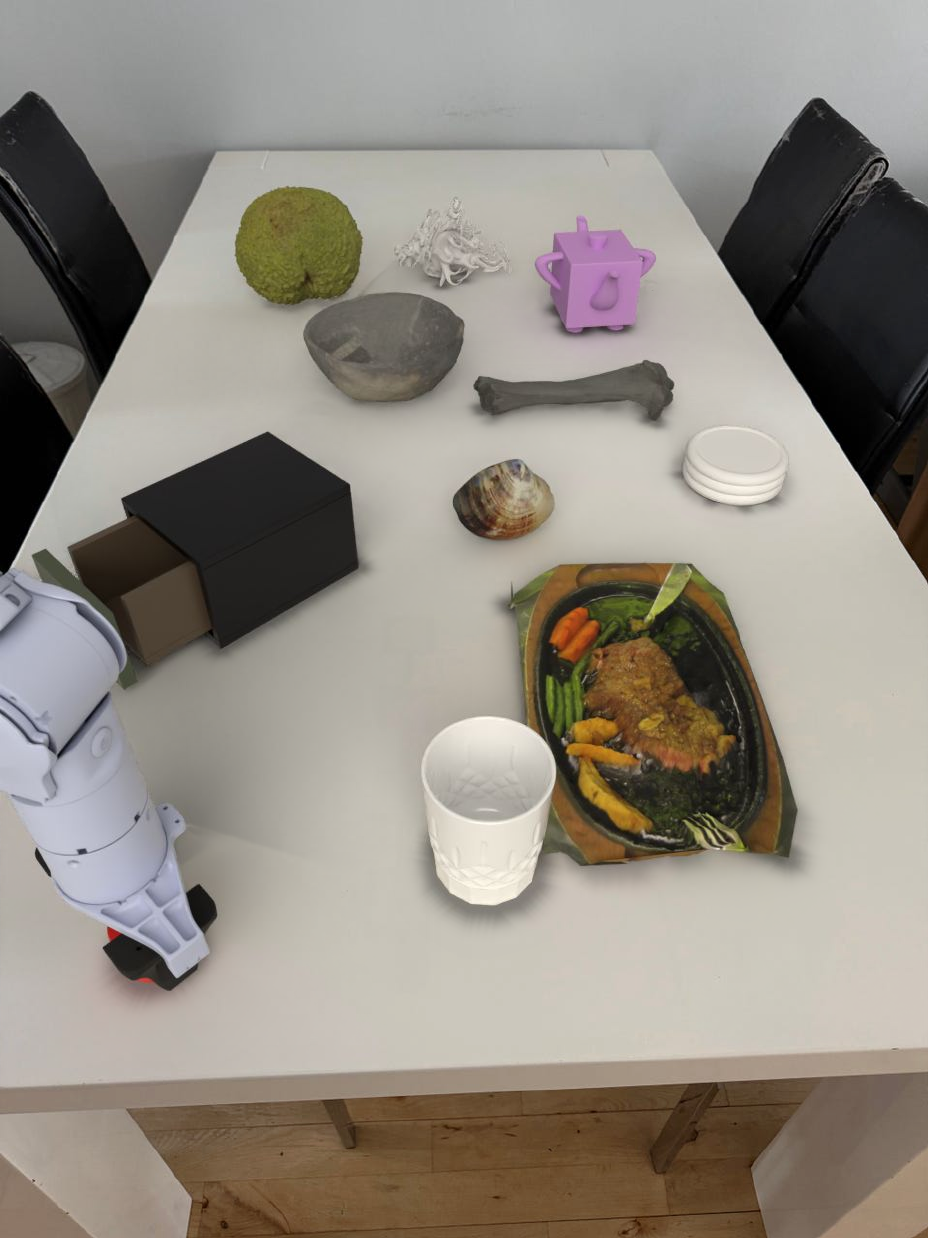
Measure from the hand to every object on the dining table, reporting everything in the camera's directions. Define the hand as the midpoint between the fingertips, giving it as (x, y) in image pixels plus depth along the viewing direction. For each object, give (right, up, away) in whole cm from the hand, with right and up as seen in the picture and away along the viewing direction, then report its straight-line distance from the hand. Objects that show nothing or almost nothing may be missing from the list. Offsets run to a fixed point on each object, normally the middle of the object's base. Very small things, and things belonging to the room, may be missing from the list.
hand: (152, 939), depth 54 cm
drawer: (-8, +19, +20) cm, 29 cm away
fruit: (-3, +63, +69) cm, 93 cm away
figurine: (+17, +67, +74) cm, 101 cm away
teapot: (+35, +58, +64) cm, 94 cm away
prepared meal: (+32, +12, +16) cm, 38 cm away
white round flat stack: (+46, +33, +38) cm, 68 cm away
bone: (+31, +42, +47) cm, 70 cm away
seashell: (+22, +27, +31) cm, 47 cm away
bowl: (+10, +46, +51) cm, 69 cm away
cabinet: (0, +23, +27) cm, 35 cm away
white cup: (+20, +3, +6) cm, 21 cm away
